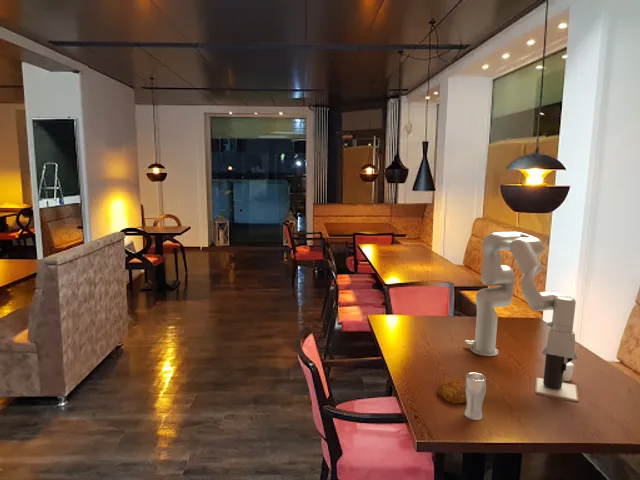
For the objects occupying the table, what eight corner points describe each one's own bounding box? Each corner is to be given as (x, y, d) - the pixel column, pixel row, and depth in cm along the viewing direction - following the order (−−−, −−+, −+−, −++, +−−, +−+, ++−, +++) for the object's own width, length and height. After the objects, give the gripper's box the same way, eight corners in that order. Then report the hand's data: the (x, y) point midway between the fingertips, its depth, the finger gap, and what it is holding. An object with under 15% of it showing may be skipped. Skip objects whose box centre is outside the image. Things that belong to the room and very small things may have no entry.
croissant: (483, 403, 183) (487, 384, 182) (456, 408, 174) (460, 387, 173) (455, 388, 195) (458, 369, 194) (428, 391, 186) (431, 372, 185)
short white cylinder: (571, 376, 204) (572, 360, 203) (573, 382, 197) (575, 366, 196) (553, 373, 206) (555, 358, 205) (555, 380, 200) (557, 364, 198)
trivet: (534, 393, 187) (535, 391, 187) (535, 378, 200) (536, 376, 200) (578, 402, 180) (578, 400, 180) (576, 386, 194) (576, 384, 194)
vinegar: (550, 389, 188) (555, 341, 185) (539, 382, 194) (544, 335, 191) (565, 388, 189) (570, 341, 186) (554, 381, 195) (559, 335, 192)
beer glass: (460, 411, 172) (462, 372, 170) (478, 410, 173) (481, 372, 170) (467, 421, 165) (470, 380, 163) (486, 420, 166) (490, 380, 164)
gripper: (539, 326, 187) (535, 370, 190) (586, 333, 180) (581, 379, 183) (539, 321, 193) (535, 363, 196) (585, 327, 186) (580, 371, 189)
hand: (557, 370), depth 189 cm, fingers closed on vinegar, 2 cm apart
